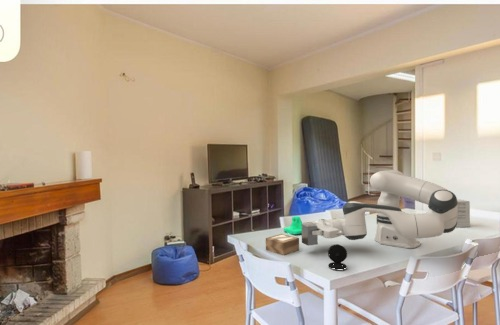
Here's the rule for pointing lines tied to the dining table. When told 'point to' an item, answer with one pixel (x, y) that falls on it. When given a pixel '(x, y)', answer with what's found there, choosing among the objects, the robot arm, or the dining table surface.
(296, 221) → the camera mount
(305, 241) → the block
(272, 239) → the stand
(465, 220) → the supplement box
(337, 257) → the webcam
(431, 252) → the dining table surface
